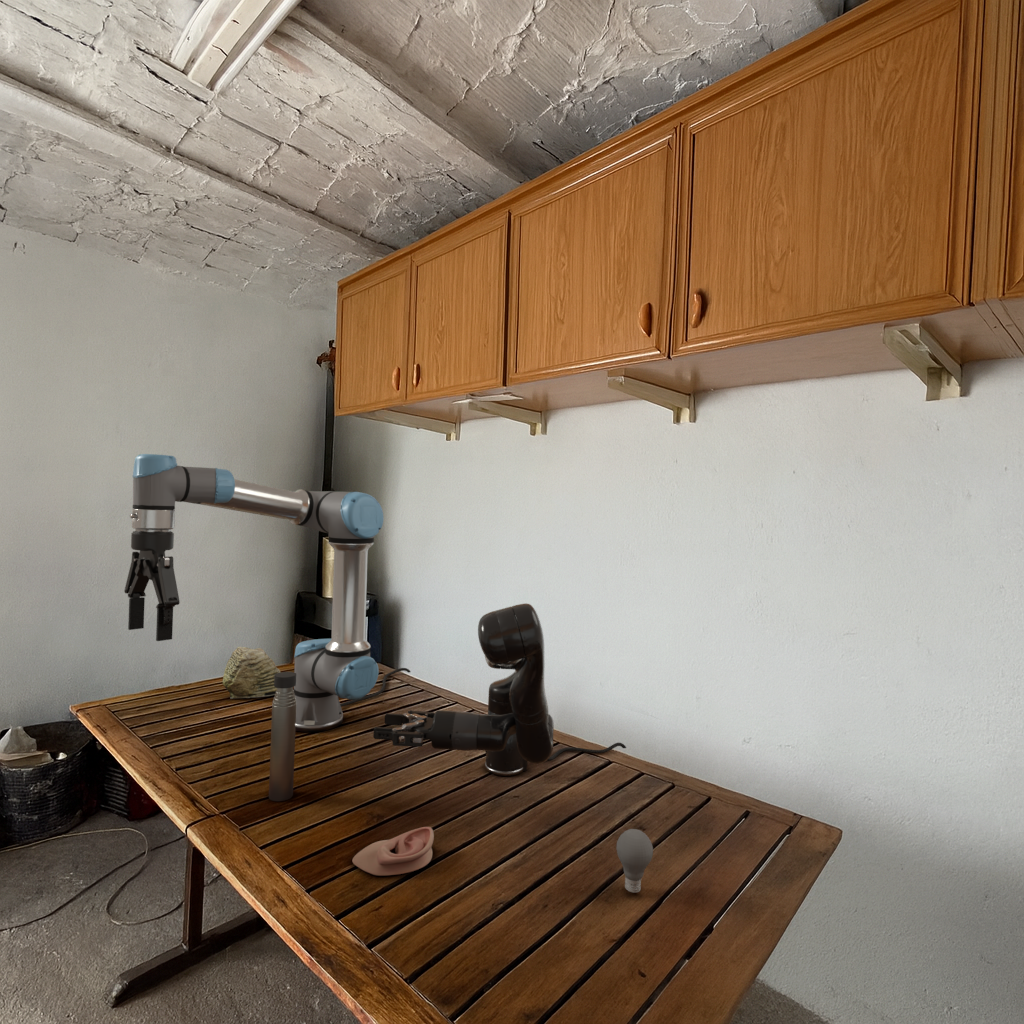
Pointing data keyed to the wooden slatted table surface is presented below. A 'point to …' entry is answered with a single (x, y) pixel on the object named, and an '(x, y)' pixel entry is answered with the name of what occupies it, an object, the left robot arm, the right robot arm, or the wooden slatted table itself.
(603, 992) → the wooden slatted table surface
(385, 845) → the anatomical model
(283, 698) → the bottle
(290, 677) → the cap
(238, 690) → the fossil
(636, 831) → the light bulb
